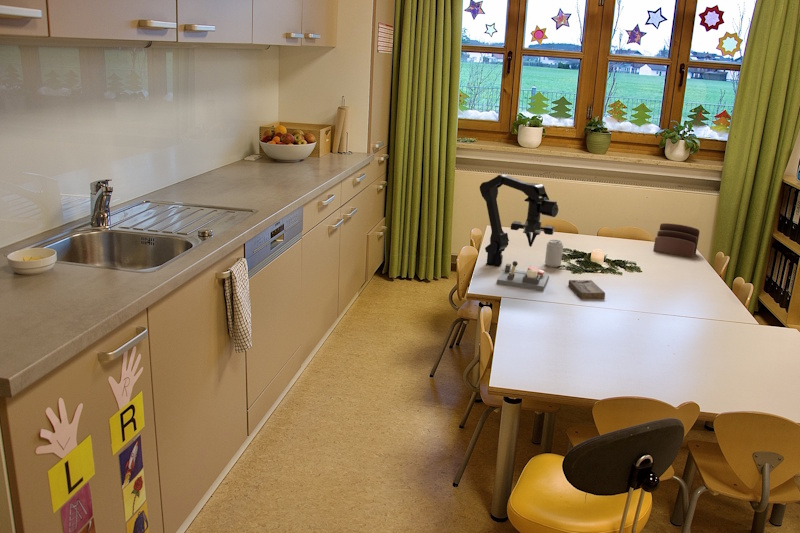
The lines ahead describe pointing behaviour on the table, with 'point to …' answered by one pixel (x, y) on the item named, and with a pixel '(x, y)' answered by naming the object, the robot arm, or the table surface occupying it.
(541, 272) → the rocker
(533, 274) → the button
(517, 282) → the panel
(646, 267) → the table surface
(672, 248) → the letter holder
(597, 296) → the grey flat block
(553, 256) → the can
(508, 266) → the slider
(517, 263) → the lever
